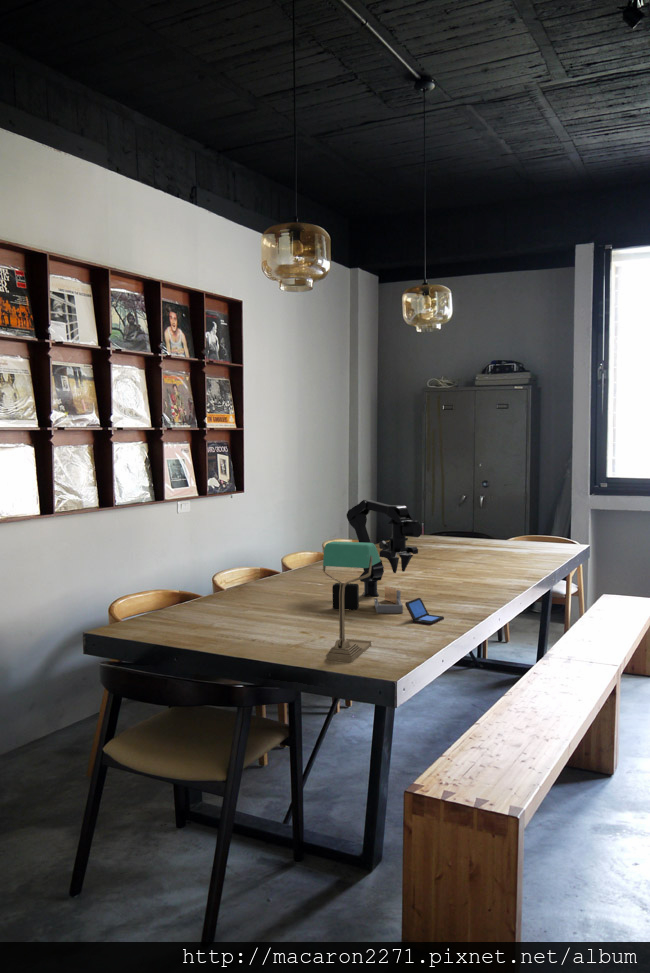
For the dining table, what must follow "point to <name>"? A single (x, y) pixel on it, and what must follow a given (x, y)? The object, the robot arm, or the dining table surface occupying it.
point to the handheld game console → (421, 613)
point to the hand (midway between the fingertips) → (398, 572)
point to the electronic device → (346, 596)
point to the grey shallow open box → (389, 607)
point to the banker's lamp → (344, 557)
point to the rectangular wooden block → (392, 594)
